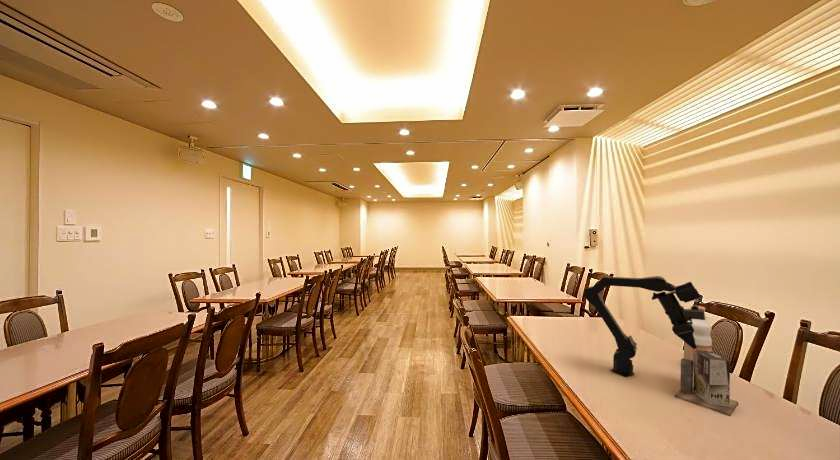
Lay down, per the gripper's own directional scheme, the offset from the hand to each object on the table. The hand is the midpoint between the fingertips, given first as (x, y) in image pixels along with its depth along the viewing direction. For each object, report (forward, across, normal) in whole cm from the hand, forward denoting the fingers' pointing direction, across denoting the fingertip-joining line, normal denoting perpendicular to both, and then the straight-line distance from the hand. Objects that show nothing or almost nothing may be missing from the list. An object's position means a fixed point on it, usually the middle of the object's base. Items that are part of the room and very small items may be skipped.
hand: (694, 345), depth 124 cm
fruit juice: (+17, +26, +6) cm, 32 cm away
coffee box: (+17, -7, +4) cm, 19 cm away
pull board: (+17, -7, +5) cm, 19 cm away
